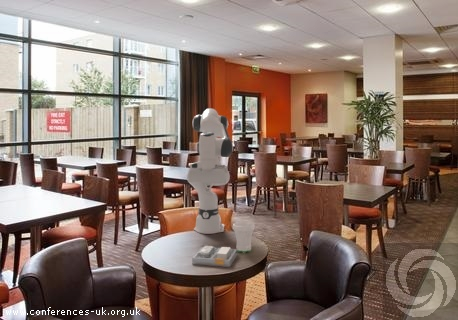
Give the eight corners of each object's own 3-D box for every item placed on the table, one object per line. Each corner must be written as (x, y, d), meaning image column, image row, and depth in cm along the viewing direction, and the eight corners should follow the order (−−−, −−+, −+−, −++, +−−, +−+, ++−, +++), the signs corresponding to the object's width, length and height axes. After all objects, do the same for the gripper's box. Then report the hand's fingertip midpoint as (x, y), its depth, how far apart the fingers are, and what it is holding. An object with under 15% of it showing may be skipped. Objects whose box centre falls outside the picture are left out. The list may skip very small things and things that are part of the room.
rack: (202, 252, 204) (202, 243, 204) (237, 255, 200) (237, 245, 200) (192, 264, 188) (191, 254, 187) (229, 267, 184) (229, 257, 183)
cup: (248, 255, 199) (248, 228, 198) (229, 252, 204) (229, 225, 203) (258, 249, 209) (258, 222, 207) (239, 246, 214) (239, 220, 213)
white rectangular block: (221, 254, 198) (221, 246, 198) (230, 255, 197) (230, 247, 197) (216, 261, 189) (216, 253, 188) (226, 262, 188) (226, 254, 187)
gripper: (229, 164, 203) (229, 191, 204) (190, 163, 208) (190, 189, 209) (226, 165, 197) (226, 193, 198) (186, 164, 201) (187, 191, 203)
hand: (207, 191), depth 204 cm, fingers closed
